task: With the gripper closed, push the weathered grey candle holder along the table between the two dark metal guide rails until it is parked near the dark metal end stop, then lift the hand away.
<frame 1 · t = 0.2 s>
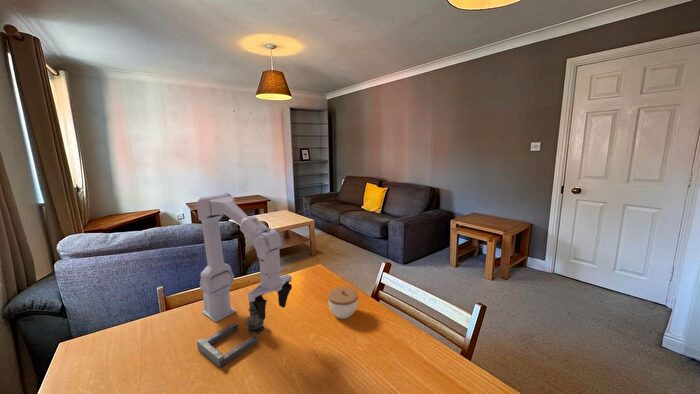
hand: (272, 312, 87), 10 cm above the table, fingers open, 7 cm apart
weathered grey candle holder: (255, 329, 94), on the table
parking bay: (229, 345, 87), on the table
lidded jar: (343, 314, 103), on the table
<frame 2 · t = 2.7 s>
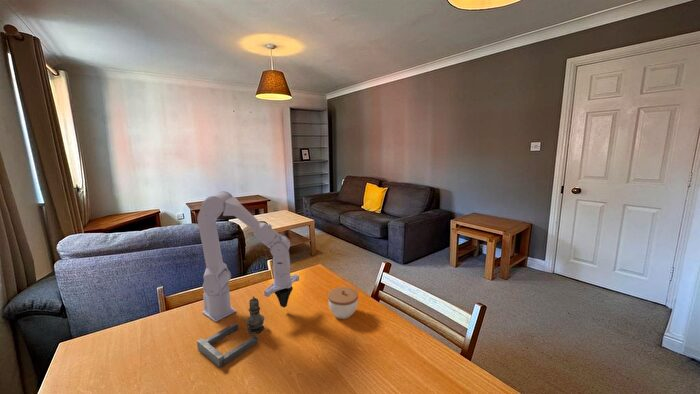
hand: (283, 305, 103), 2 cm above the table, fingers closed
nothing on the table moved.
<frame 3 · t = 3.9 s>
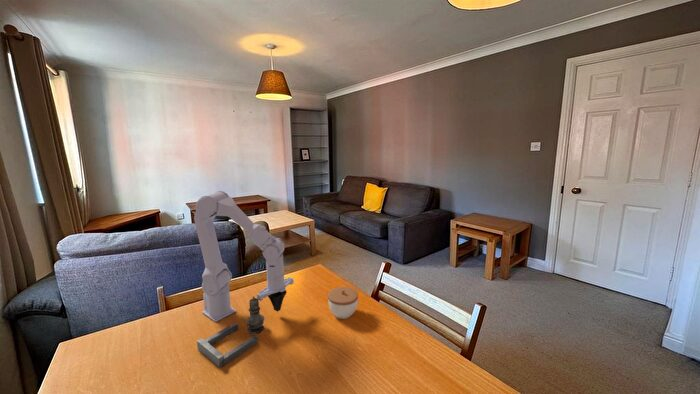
hand: (277, 309, 101), 2 cm above the table, fingers closed
nothing on the table moved.
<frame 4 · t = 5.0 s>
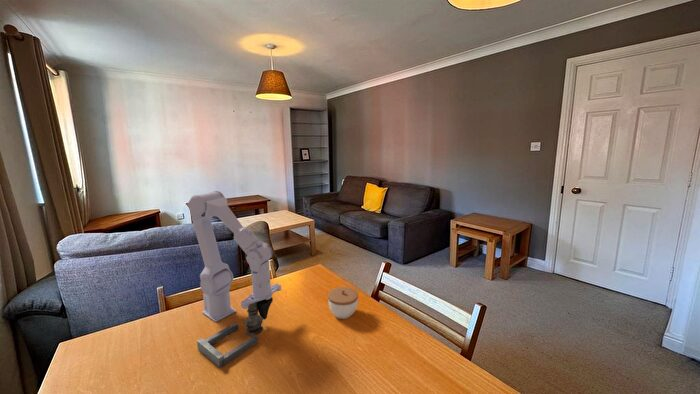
hand: (263, 317, 97), 2 cm above the table, fingers closed
weathered grey candle holder: (254, 330, 94), on the table, touching gripper
everything else where it was.
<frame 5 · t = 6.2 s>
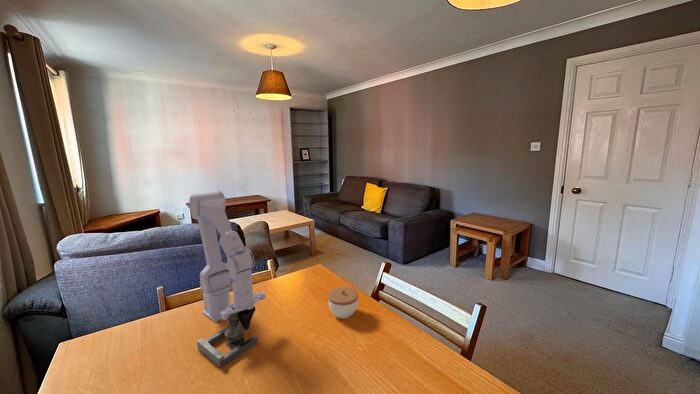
hand: (245, 328, 91), 2 cm above the table, fingers closed
weathered grey candle holder: (235, 342, 89), on the table, touching gripper
everything else where it was.
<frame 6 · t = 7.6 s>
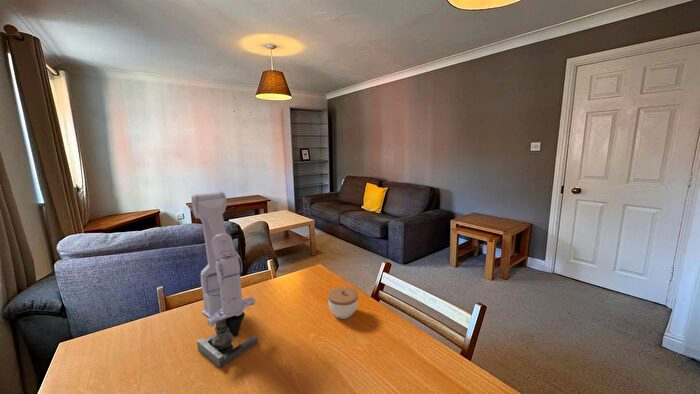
hand: (234, 335, 88), 2 cm above the table, fingers closed
weathered grey candle holder: (223, 349, 85), on the table, touching gripper
everything else where it was.
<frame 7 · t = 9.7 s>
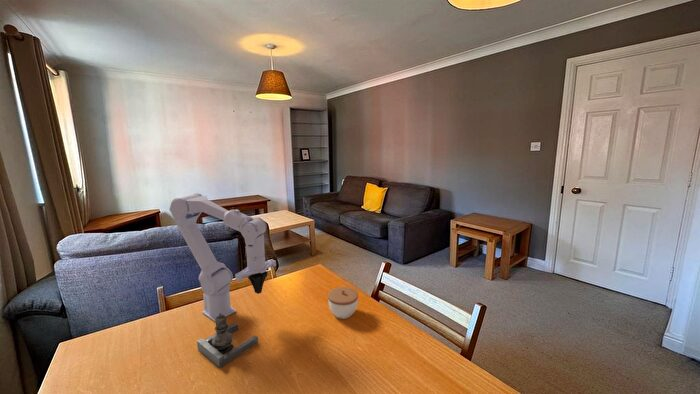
hand: (258, 292, 98), 10 cm above the table, fingers closed
weathered grey candle holder: (223, 349, 85), on the table
everything else where it was.
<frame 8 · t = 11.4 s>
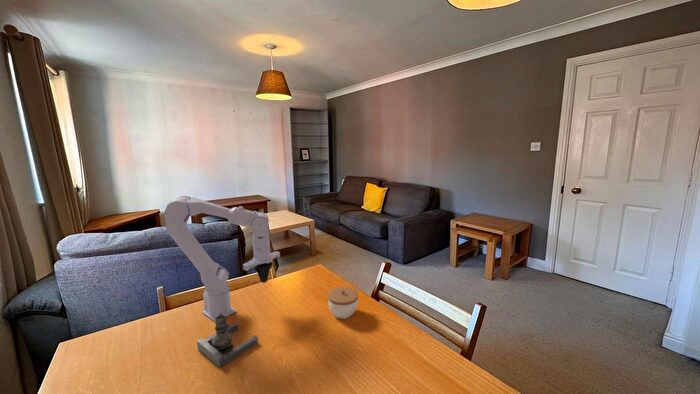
hand: (263, 281, 105), 10 cm above the table, fingers closed
nothing on the table moved.
at the end: weathered grey candle holder 0.6 cm from the target spot on the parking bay, point 0.0 cm above the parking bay's base; weathered grey candle holder tilted 0°; the gripper is holding nothing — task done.
